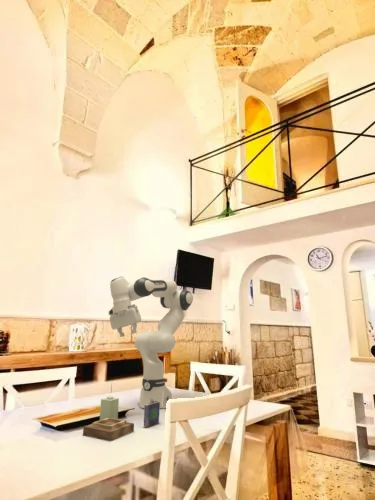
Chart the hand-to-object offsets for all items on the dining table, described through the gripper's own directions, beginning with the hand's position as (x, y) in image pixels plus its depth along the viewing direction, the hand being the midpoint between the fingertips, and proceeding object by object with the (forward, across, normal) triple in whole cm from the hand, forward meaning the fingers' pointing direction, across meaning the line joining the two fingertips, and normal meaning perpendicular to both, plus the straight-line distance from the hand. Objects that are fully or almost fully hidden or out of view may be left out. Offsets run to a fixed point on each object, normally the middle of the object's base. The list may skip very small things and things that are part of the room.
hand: (128, 335), depth 164 cm
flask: (+40, -12, +8) cm, 43 cm away
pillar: (+35, +3, +18) cm, 40 cm away
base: (+36, -9, +27) cm, 46 cm away
